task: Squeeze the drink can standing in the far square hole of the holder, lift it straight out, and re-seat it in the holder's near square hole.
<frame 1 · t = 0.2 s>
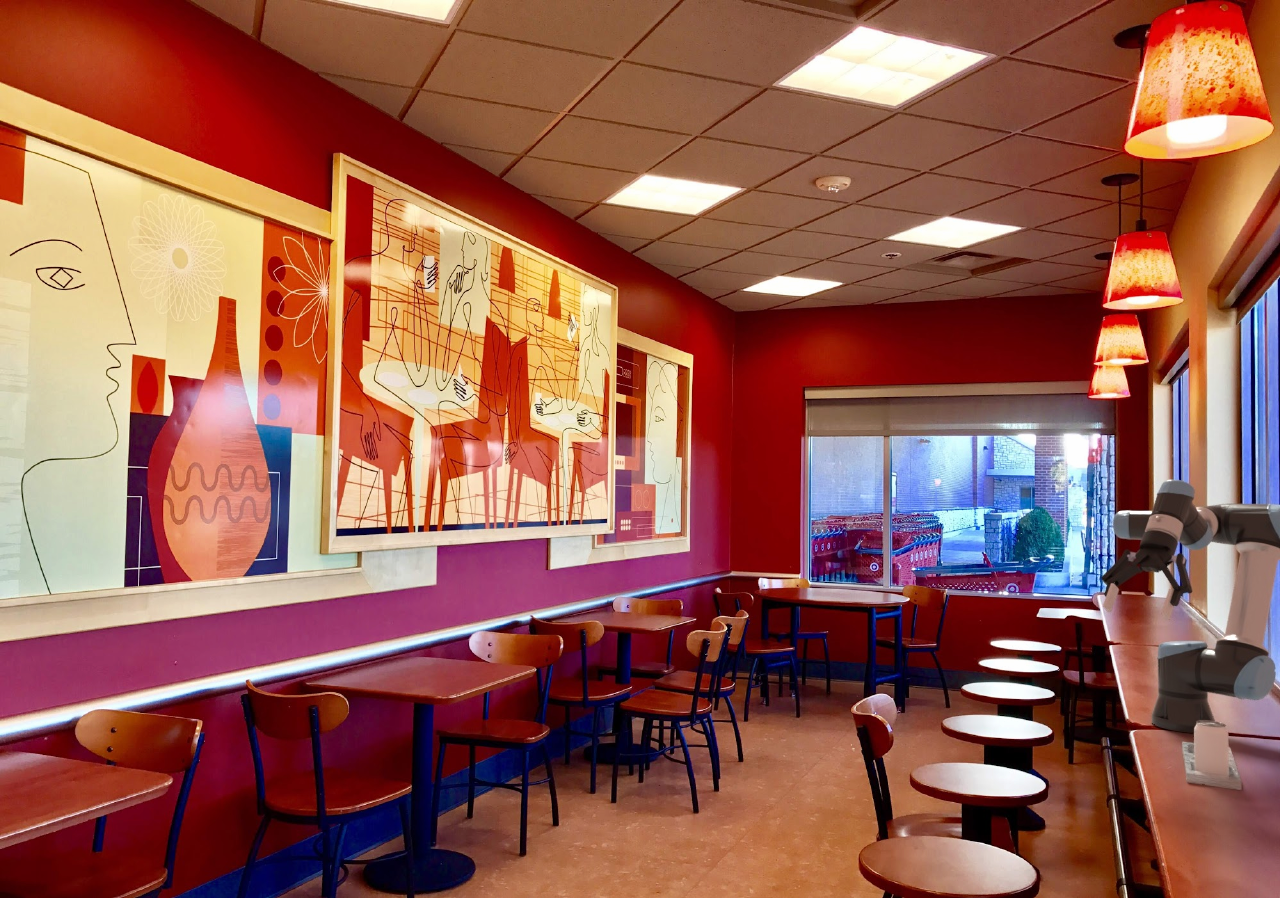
hand: (1135, 613, 212), 35 cm above the counter, tool tilted 35°, fingers open, 13 cm apart
holder: (1209, 768, 209), on the counter
can: (1211, 778, 202), resting in holder
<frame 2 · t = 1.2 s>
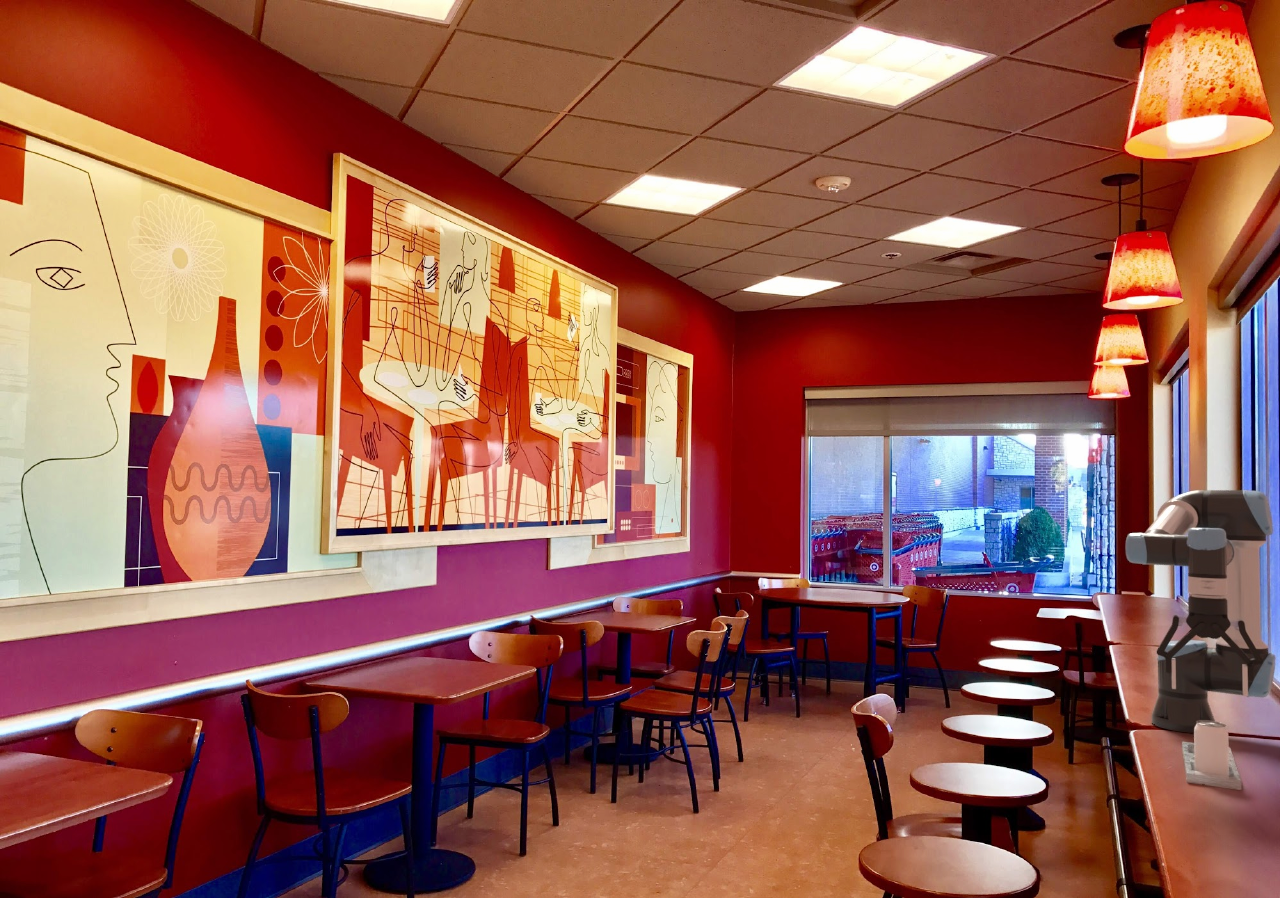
hand: (1209, 691, 203), 19 cm above the counter, tool pointing down, fingers open, 13 cm apart
nothing on the counter moved.
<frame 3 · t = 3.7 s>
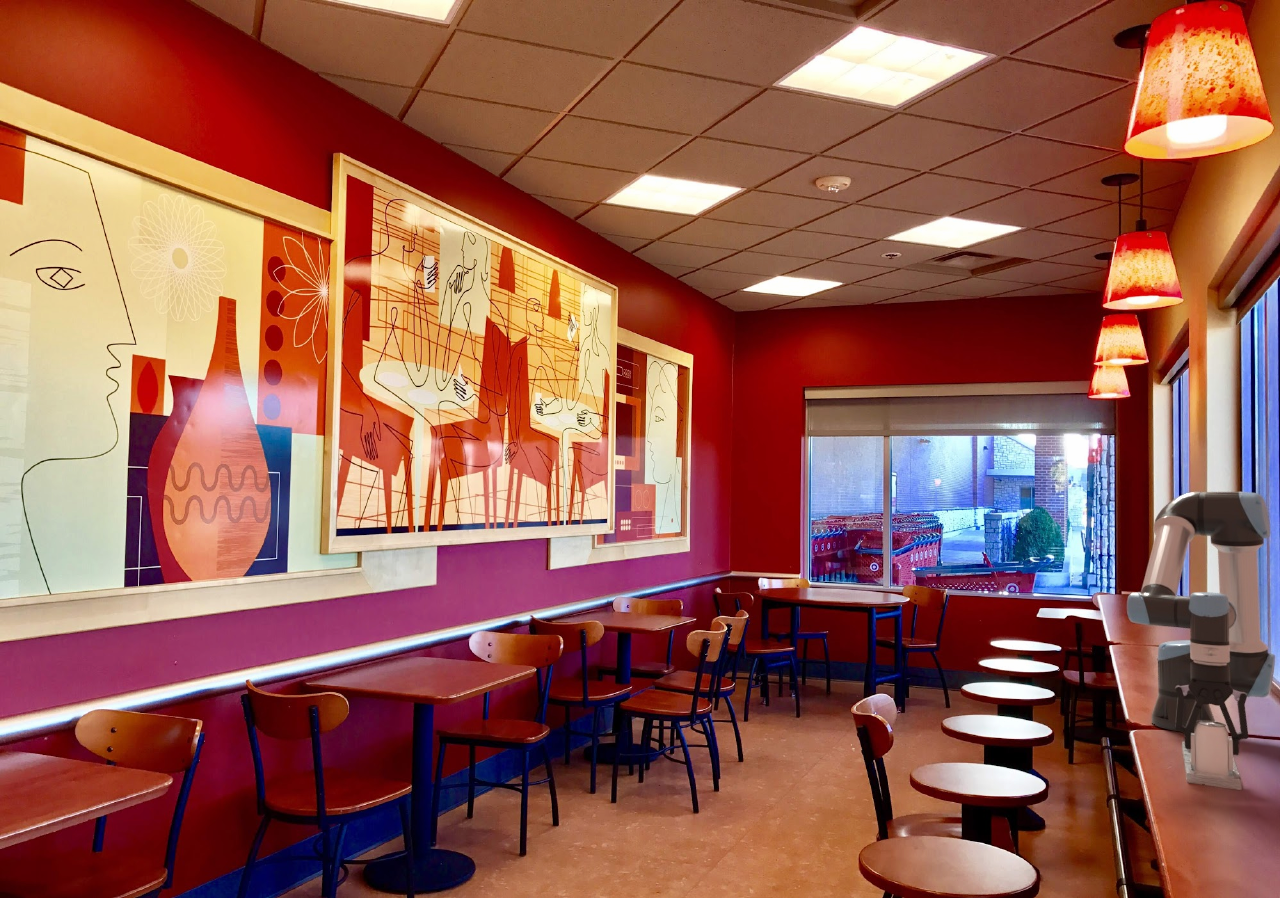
hand: (1211, 766, 202), 2 cm above the counter, tool pointing down, fingers closed on can, 6 cm apart
can: (1211, 778, 202), resting in holder, touching gripper
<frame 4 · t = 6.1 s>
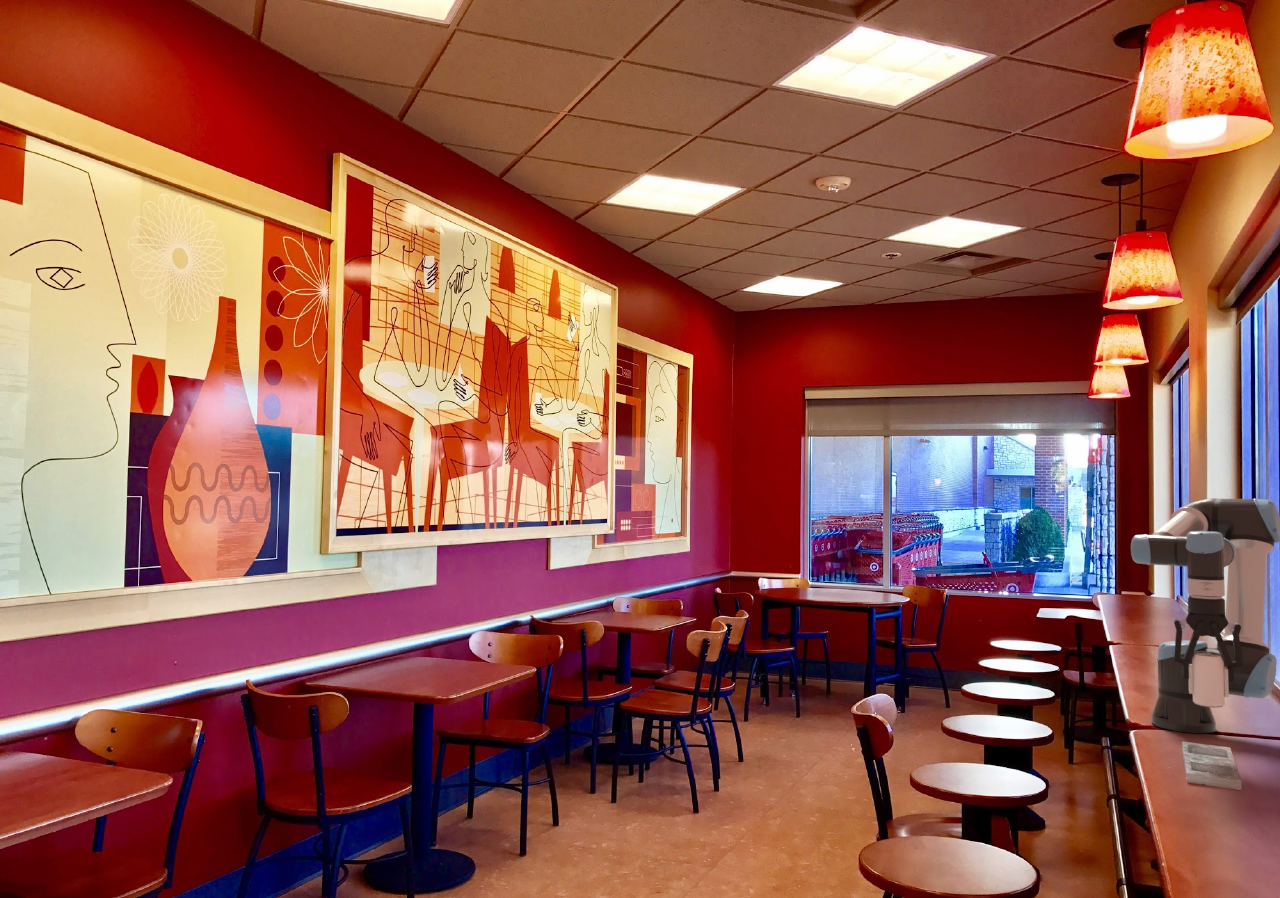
hand: (1208, 693, 215), 16 cm above the counter, tool pointing down, fingers closed on can, 6 cm apart
can: (1208, 705, 215), point 13 cm above the counter, touching gripper
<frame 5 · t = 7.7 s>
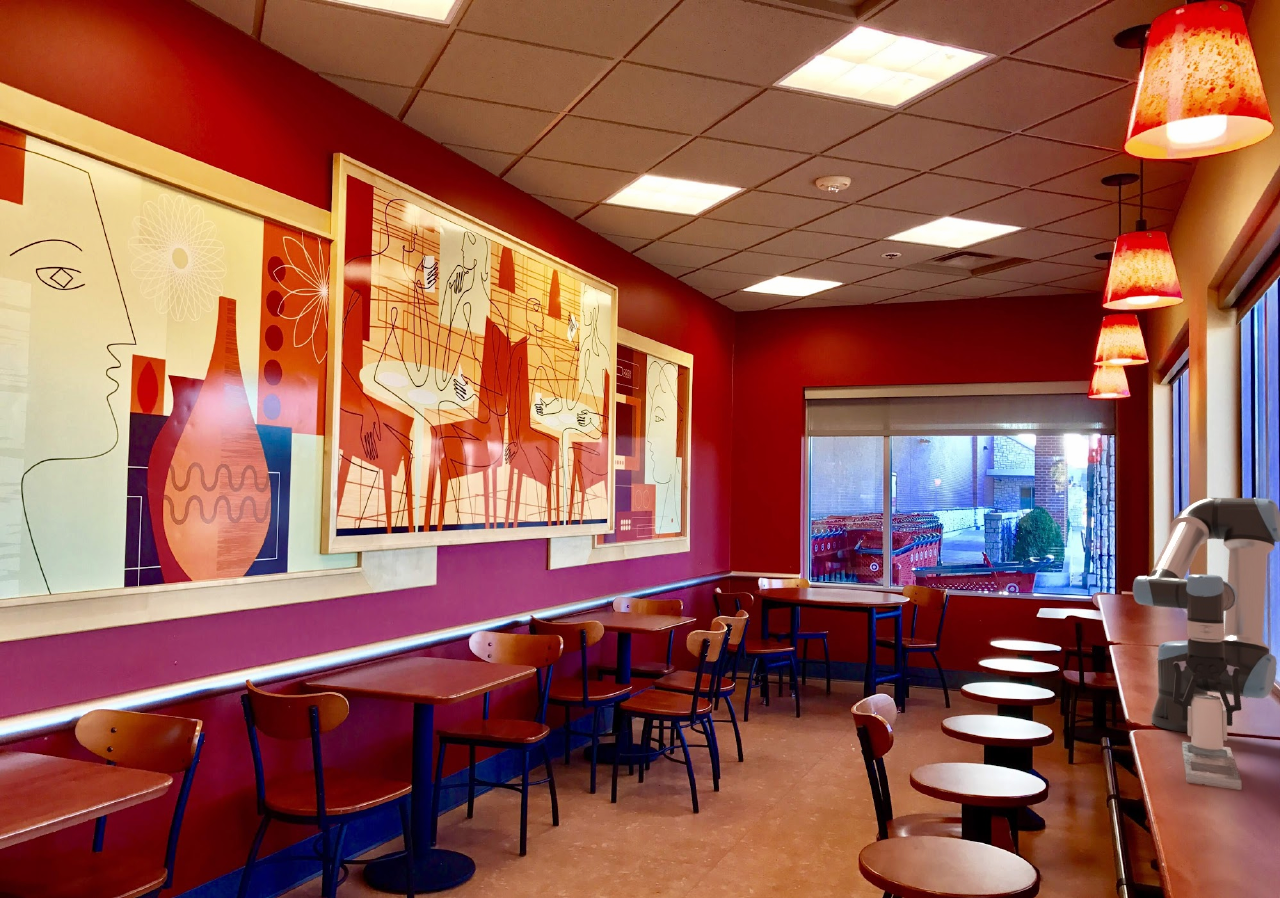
hand: (1207, 736, 216), 5 cm above the counter, tool pointing down, fingers closed on can, 6 cm apart
can: (1207, 748, 216), point 3 cm above the counter, touching gripper
when the fingers open (3 cm above the counter, at t = 8.8 s): can stays where it is, resting in holder.
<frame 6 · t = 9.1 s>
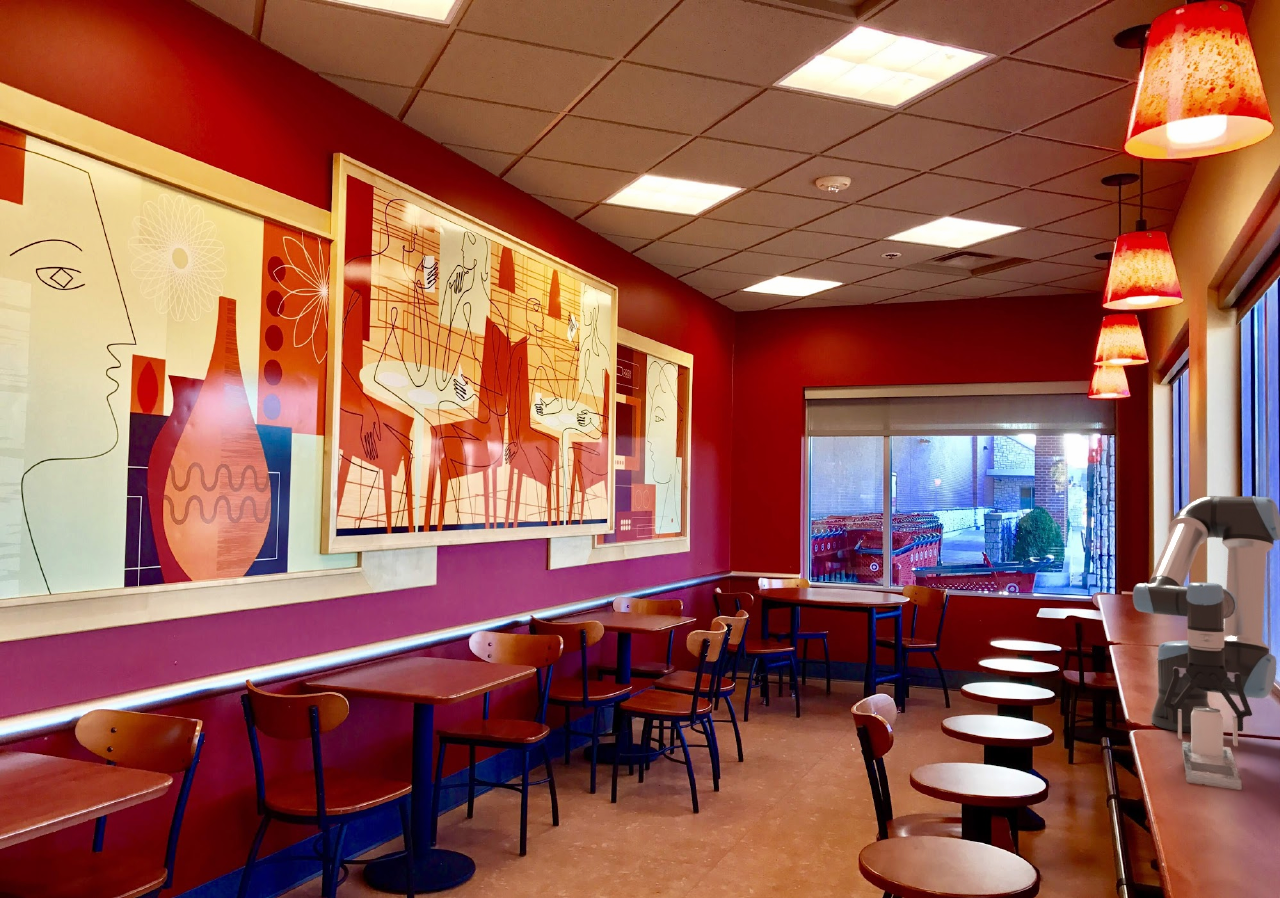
hand: (1207, 741, 216), 4 cm above the counter, tool pointing down, fingers open, 10 cm apart
can: (1207, 760, 216), resting in holder
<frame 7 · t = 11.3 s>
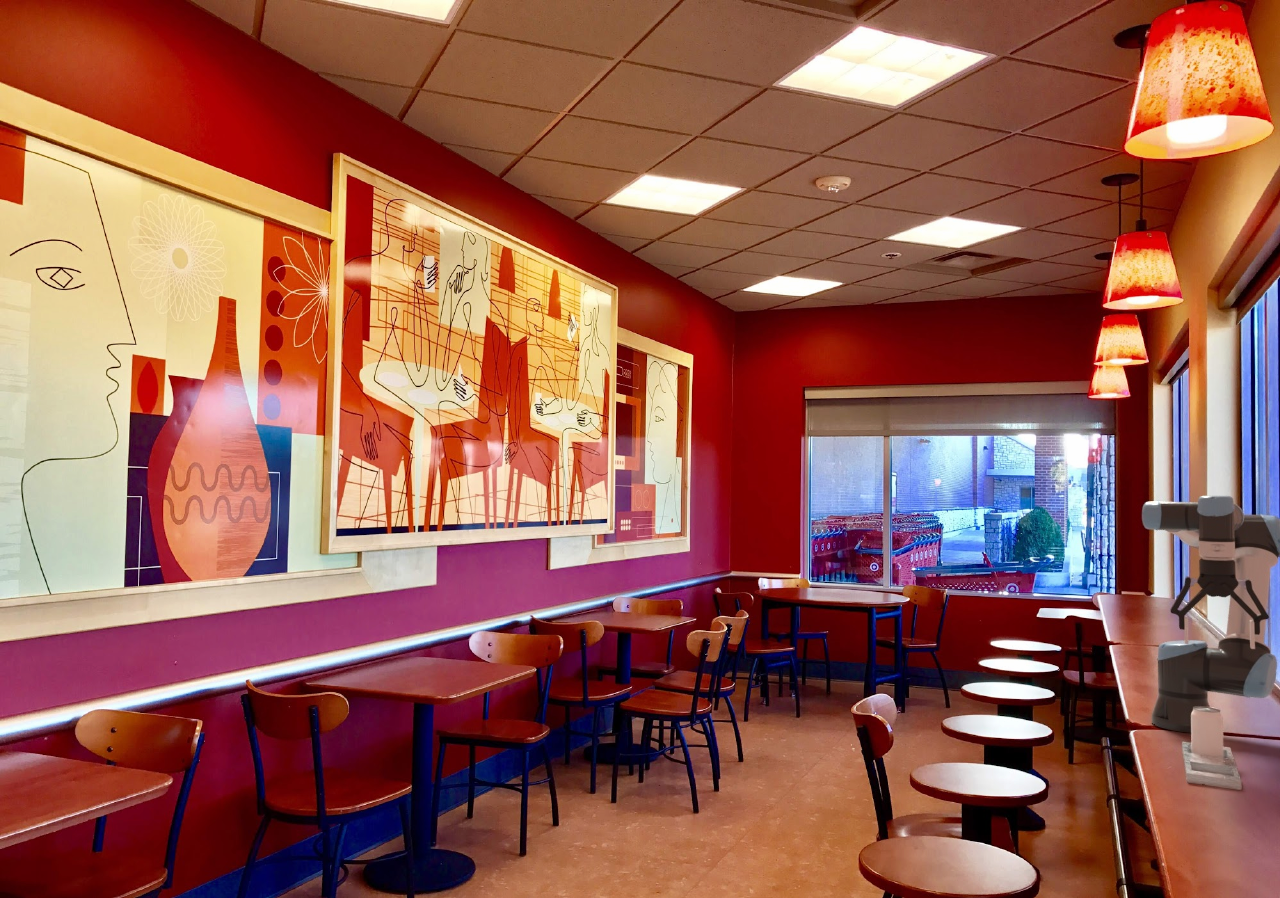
hand: (1219, 645, 222), 26 cm above the counter, tool pointing down, fingers open, 13 cm apart
nothing on the counter moved.
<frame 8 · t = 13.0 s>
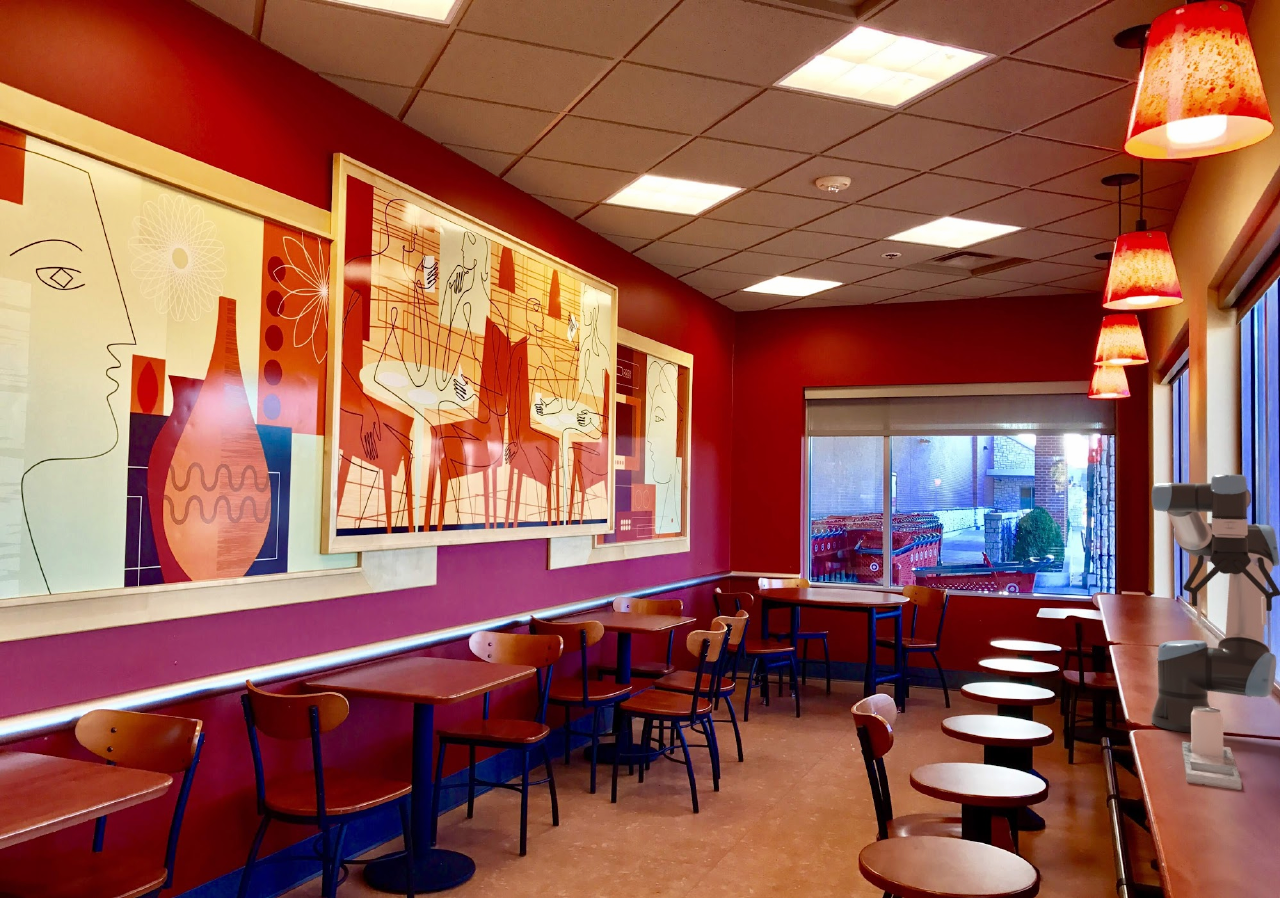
hand: (1231, 622, 225), 32 cm above the counter, tool pointing down, fingers open, 13 cm apart
nothing on the counter moved.
at the end: can 0.0 cm from the target spot, resting in holder; can tilted 0°; the gripper is holding nothing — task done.
